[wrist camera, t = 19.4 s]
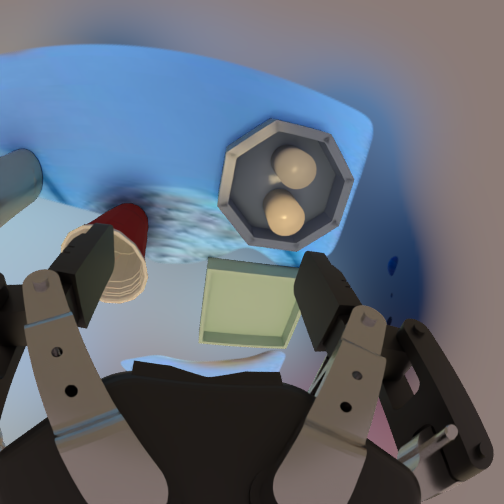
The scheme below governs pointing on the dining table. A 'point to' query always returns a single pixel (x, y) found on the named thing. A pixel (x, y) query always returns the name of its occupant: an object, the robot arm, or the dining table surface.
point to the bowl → (265, 180)
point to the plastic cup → (123, 251)
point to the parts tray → (248, 304)
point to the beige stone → (283, 212)
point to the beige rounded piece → (293, 166)
